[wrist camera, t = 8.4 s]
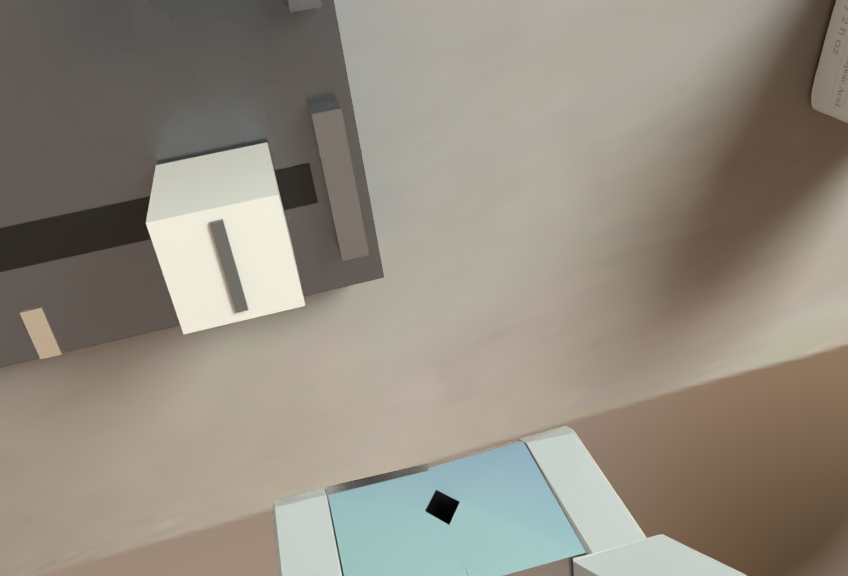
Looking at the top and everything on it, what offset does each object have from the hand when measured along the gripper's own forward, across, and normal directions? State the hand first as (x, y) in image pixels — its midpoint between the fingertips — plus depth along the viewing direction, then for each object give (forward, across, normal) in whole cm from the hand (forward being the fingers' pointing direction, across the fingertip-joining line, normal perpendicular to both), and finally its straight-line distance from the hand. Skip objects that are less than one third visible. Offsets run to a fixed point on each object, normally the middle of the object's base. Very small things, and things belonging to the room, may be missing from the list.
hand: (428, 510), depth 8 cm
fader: (+16, +2, +2) cm, 16 cm away
